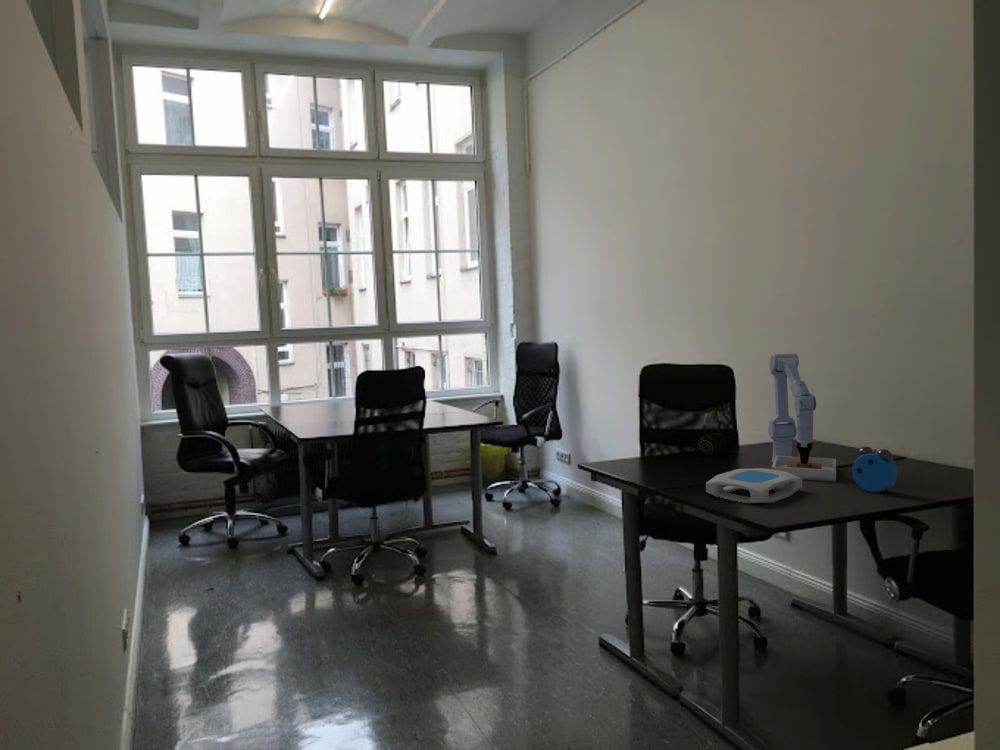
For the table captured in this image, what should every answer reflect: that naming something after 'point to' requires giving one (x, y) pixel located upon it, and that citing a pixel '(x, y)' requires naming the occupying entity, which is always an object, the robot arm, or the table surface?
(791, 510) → the table surface
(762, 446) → the table surface
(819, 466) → the bore plate
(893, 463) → the alarm clock
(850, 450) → the table surface
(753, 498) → the white and blue housing
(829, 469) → the tray
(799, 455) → the peg
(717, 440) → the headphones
